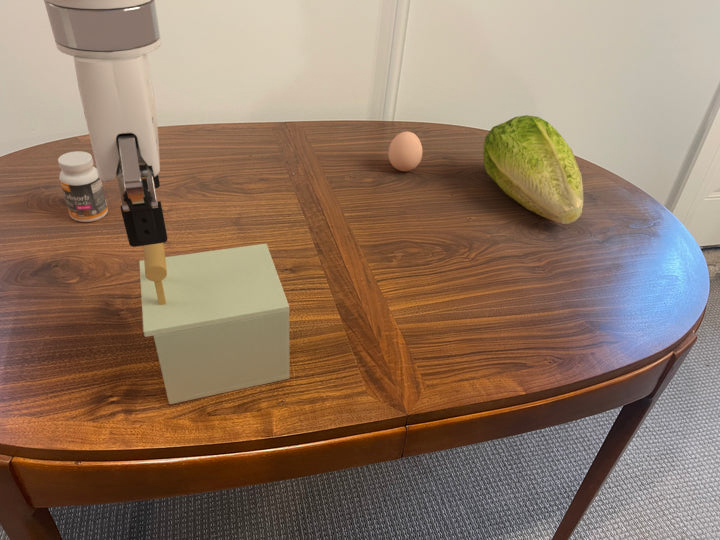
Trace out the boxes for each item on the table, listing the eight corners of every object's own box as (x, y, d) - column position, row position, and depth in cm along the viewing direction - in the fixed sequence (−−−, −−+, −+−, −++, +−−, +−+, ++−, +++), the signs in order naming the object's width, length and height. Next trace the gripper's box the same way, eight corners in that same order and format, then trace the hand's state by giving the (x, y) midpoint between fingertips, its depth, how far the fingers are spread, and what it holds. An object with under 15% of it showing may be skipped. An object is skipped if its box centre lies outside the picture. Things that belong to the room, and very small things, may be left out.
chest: (169, 405, 59) (153, 336, 52) (162, 332, 68) (147, 265, 61) (289, 378, 63) (289, 312, 57) (269, 313, 72) (266, 248, 65)
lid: (144, 337, 52) (133, 290, 48) (140, 265, 61) (130, 221, 57) (289, 311, 57) (289, 267, 53) (266, 248, 65) (265, 206, 61)
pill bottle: (64, 222, 84) (45, 165, 78) (80, 203, 89) (64, 147, 82) (100, 225, 84) (85, 168, 78) (114, 206, 89) (101, 151, 83)
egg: (379, 168, 106) (383, 131, 102) (400, 158, 111) (405, 122, 106) (405, 181, 103) (411, 143, 98) (426, 170, 107) (432, 133, 102)
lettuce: (528, 210, 85) (616, 166, 83) (464, 127, 101) (538, 88, 99) (538, 260, 96) (616, 221, 94) (479, 178, 112) (545, 143, 110)
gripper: (58, -4, 46) (104, 174, 56) (40, 63, 33) (103, 275, 44) (151, -4, 48) (178, 167, 59) (167, 59, 36) (197, 261, 46)
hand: (146, 213), depth 51 cm, fingers open, 9 cm apart
